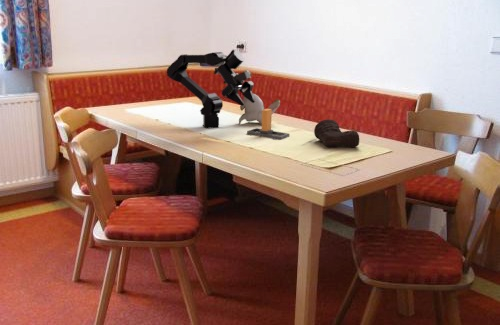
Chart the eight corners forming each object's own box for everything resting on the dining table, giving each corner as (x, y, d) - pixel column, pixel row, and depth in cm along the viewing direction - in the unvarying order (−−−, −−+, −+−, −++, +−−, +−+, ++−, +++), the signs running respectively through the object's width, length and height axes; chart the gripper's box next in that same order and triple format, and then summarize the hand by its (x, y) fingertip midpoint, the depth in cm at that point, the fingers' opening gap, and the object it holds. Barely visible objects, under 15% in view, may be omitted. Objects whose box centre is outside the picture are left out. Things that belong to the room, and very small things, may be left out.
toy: (237, 126, 232) (278, 127, 228) (236, 94, 228) (278, 95, 224) (241, 122, 240) (281, 123, 236) (240, 91, 236) (281, 92, 232)
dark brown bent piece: (361, 131, 192) (348, 117, 205) (325, 134, 190) (314, 119, 203) (359, 153, 197) (346, 138, 210) (323, 156, 194) (313, 140, 208)
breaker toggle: (259, 134, 210) (260, 109, 207) (264, 132, 214) (265, 108, 211) (267, 136, 208) (268, 111, 205) (272, 134, 212) (273, 109, 209)
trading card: (343, 175, 160) (300, 163, 172) (343, 177, 161) (300, 165, 172) (360, 169, 168) (318, 158, 180) (360, 170, 168) (317, 159, 180)
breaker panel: (243, 136, 211) (243, 131, 210) (257, 131, 220) (257, 127, 220) (279, 142, 201) (279, 138, 201) (292, 137, 211) (292, 132, 211)
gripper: (228, 65, 203) (249, 95, 201) (251, 62, 218) (270, 90, 216) (212, 82, 209) (232, 110, 207) (235, 78, 224) (254, 105, 222)
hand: (248, 103), depth 213 cm, fingers open, 9 cm apart
